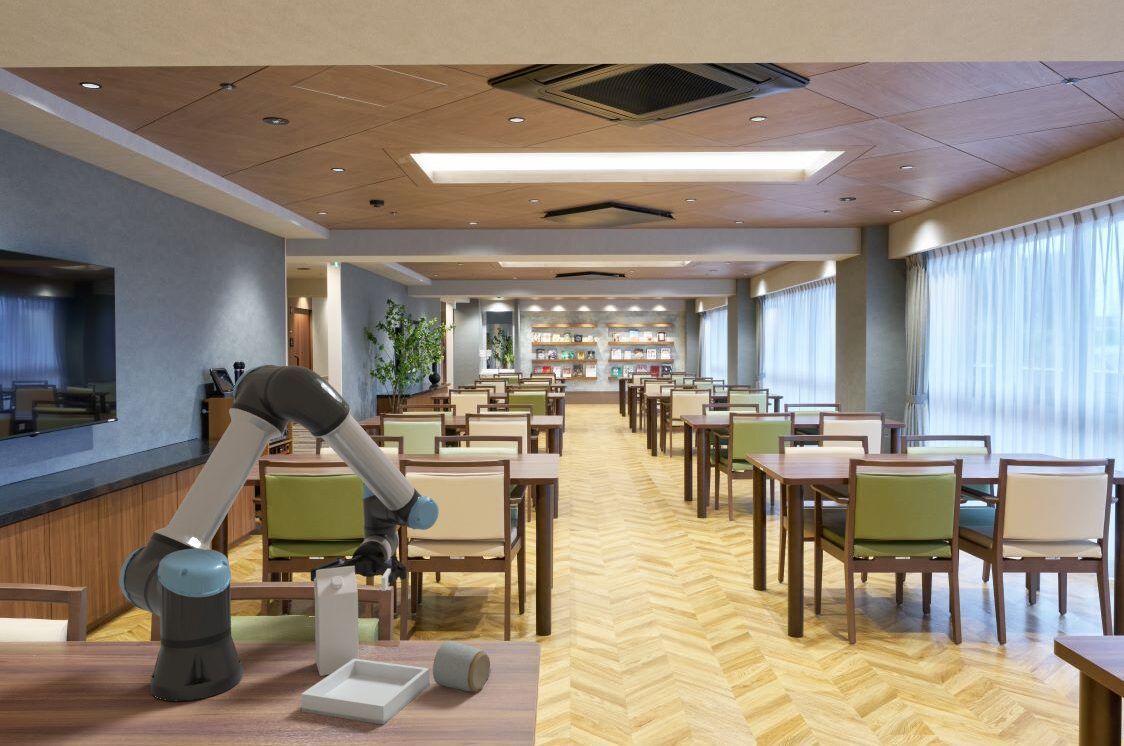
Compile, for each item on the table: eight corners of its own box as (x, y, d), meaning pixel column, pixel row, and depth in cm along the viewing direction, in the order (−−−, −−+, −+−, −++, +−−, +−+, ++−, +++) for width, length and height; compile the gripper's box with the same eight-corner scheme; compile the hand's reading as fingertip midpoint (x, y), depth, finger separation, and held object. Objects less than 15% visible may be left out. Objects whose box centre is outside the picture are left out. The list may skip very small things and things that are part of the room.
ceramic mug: (471, 699, 134) (471, 655, 134) (431, 691, 137) (431, 648, 137) (501, 677, 144) (501, 636, 143) (464, 670, 147) (464, 629, 147)
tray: (301, 711, 130) (301, 693, 130) (354, 674, 145) (354, 658, 145) (383, 724, 125) (383, 706, 125) (429, 684, 140) (429, 668, 140)
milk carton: (315, 663, 150) (314, 565, 150) (353, 656, 153) (351, 561, 153) (319, 677, 144) (318, 575, 143) (359, 670, 147) (357, 570, 146)
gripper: (426, 571, 180) (411, 601, 159) (317, 574, 179) (288, 605, 158) (425, 539, 180) (411, 565, 158) (316, 541, 179) (287, 568, 158)
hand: (349, 585), depth 158 cm, fingers open, 13 cm apart
